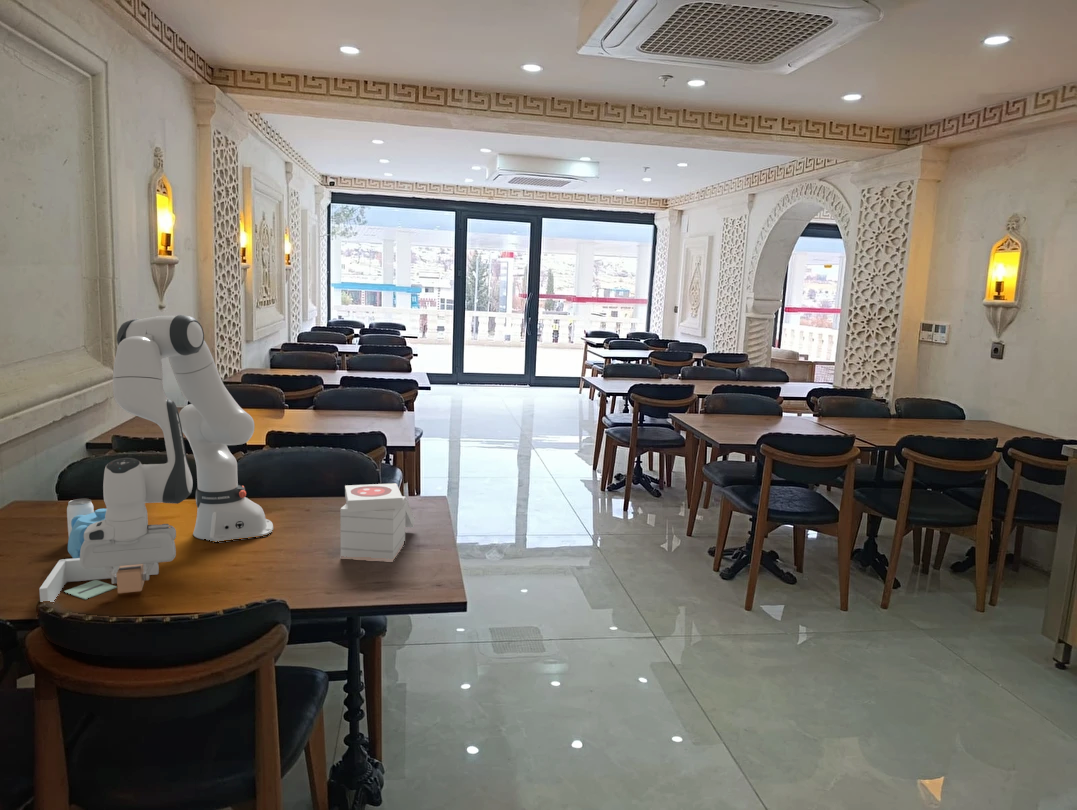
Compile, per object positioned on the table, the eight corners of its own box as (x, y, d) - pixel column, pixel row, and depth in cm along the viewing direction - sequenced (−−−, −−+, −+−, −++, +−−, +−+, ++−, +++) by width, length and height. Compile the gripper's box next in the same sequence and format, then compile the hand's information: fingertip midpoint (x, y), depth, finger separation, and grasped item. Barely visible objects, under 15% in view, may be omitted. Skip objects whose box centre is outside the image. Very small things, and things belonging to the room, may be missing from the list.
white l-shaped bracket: (158, 572, 194) (157, 552, 193) (148, 601, 177) (147, 579, 176) (61, 580, 186) (59, 559, 185) (41, 611, 169) (39, 588, 169)
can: (83, 547, 208) (80, 506, 206) (63, 544, 209) (60, 503, 207) (100, 539, 214) (98, 499, 212) (81, 536, 215) (79, 497, 213)
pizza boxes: (420, 529, 234) (421, 474, 231) (397, 566, 205) (398, 503, 202) (360, 526, 235) (361, 471, 232) (329, 561, 206) (329, 499, 202)
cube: (144, 582, 183) (143, 562, 182) (141, 590, 179) (140, 570, 178) (121, 584, 181) (120, 564, 181) (117, 593, 177) (116, 572, 176)
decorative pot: (140, 544, 212) (137, 498, 210) (136, 564, 198) (134, 515, 196) (73, 551, 205) (70, 503, 203) (65, 572, 191) (61, 521, 189)
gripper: (176, 518, 184) (179, 571, 186) (81, 525, 177) (85, 580, 179) (174, 527, 178) (176, 581, 180) (75, 535, 171) (80, 591, 173)
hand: (130, 581), depth 180 cm, fingers closed on cube, 5 cm apart
